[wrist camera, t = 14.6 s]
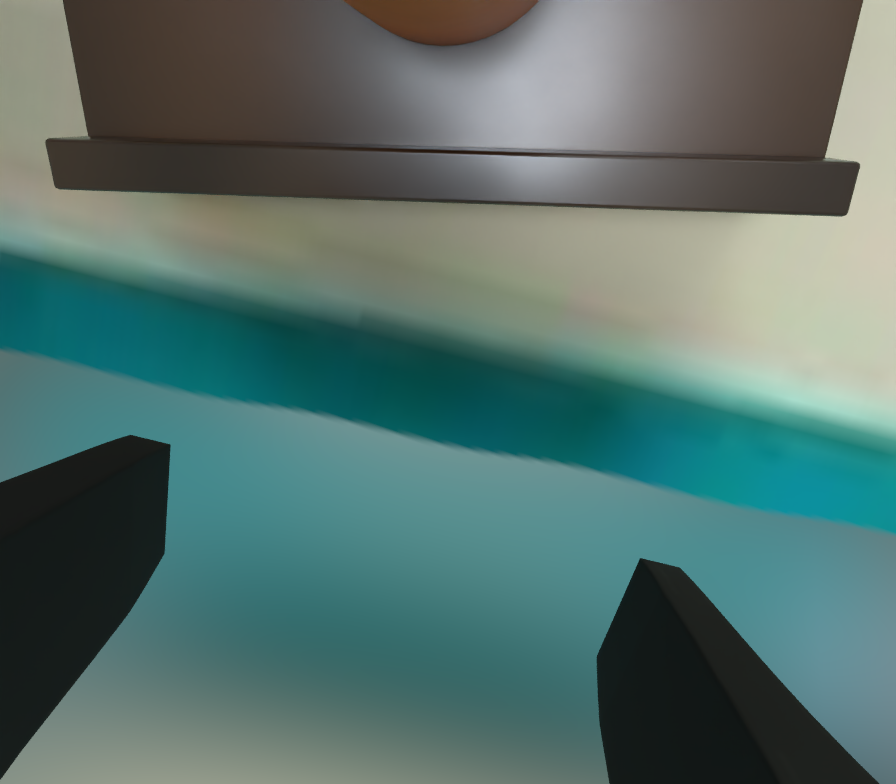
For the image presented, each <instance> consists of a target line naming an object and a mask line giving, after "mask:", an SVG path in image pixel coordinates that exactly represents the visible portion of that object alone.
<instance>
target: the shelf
mask: <svg viewBox="0 0 896 784" xmlns="http://www.w3.org/2000/svg"><path fill="white" fill-rule="evenodd" d="M862 3H863V0H539V1H538V2H537V3H536V4H535V5H534V6H533V7H532V8H531V9H530V10H529V11H528V12H527V13H526V14H525V15H523V16H522V17H521V18H520V19H518V20H517V21H515V22H514V23H513V24H511V25H510V26H508V27H507V28H505V29H503V30H501V31H499V32H497V33H496V34H494V35H492V36H489V37H486V38H484V39H481V40H478V41H475V42H470V43H465V44H461V45H447V46H439V45H428V44H423V43H418V42H414V41H410V40H407V39H405V38H402V37H400V36H398V35H395V34H393V33H391V32H389V31H388V30H386V29H384V28H383V27H381V26H379V25H378V24H376V23H375V22H373V21H372V20H370V19H369V18H367V17H366V16H365V15H363V14H362V13H360V12H359V11H357V10H356V9H355V8H353V7H352V6H350V5H349V4H347V3H346V2H345V1H343V0H63V4H64V9H65V15H66V20H67V25H68V31H69V36H70V41H71V47H72V52H73V57H74V63H75V68H76V73H77V79H78V84H79V89H80V95H81V100H82V105H83V111H84V116H85V121H86V127H87V132H88V136H81V137H62V138H49V139H47V140H46V142H45V143H46V148H47V152H48V157H49V162H50V166H51V171H52V176H53V181H54V185H55V187H56V188H58V189H63V190H92V191H121V192H150V193H179V194H207V195H236V196H265V197H294V198H323V199H351V200H380V201H409V202H438V203H467V204H495V205H524V206H553V207H582V208H610V209H639V210H668V211H697V212H726V213H754V214H783V215H812V216H841V217H842V216H845V215H847V213H848V210H849V206H850V202H851V199H852V195H853V191H854V187H855V184H856V180H857V176H858V172H859V169H860V164H859V163H858V162H854V161H847V160H840V159H832V158H825V155H826V151H827V146H828V142H829V138H830V134H831V130H832V126H833V122H834V118H835V114H836V110H837V105H838V101H839V97H840V93H841V89H842V85H843V81H844V77H845V73H846V68H847V64H848V60H849V56H850V52H851V48H852V44H853V40H854V36H855V32H856V27H857V23H858V19H859V15H860V11H861V7H862Z"/></svg>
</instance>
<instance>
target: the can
mask: <svg viewBox="0 0 896 784" xmlns="http://www.w3.org/2000/svg"><path fill="white" fill-rule="evenodd" d="M343 1H345V2H346V3H347V4H349V5H350V6H352V7H353V8H355V9H356V10H357V11H359V12H360V13H362V14H363V15H365V16H366V17H367V18H369V19H370V20H372V21H373V22H375V23H376V24H378V25H379V26H381V27H383V28H384V29H386V30H388V31H389V32H391V33H393V34H395V35H398V36H400V37H402V38H405V39H407V40H410V41H414V42H418V43H423V44H428V45H439V46H447V45H461V44H465V43H470V42H475V41H478V40H481V39H484V38H486V37H489V36H492V35H494V34H496V33H497V32H499V31H501V30H503V29H505V28H507V27H508V26H510V25H511V24H513V23H514V22H515V21H517V20H518V19H520V18H521V17H522V16H523V15H525V14H526V13H527V12H528V11H529V10H530V9H531V8H532V7H533V6H534V5H535V4H536V3H537V2H538V1H539V0H343Z"/></svg>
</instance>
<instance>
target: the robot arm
mask: <svg viewBox="0 0 896 784" xmlns="http://www.w3.org/2000/svg"><path fill="white" fill-rule="evenodd" d="M169 462H170V444H166V443H162V442H158V441H154V440H149V439H145V438H141V437H137V436H133V435H129V436H125V437H122V438H119V439H116V440H113V441H110V442H107V443H104V444H101V445H99V446H96V447H93V448H90V449H88V450H85V451H82V452H80V453H77V454H75V455H72V456H69V457H67V458H64V459H62V460H59V461H57V462H54V463H51V464H48V465H46V466H43V467H41V468H38V469H35V470H33V471H30V472H27V473H25V474H22V475H19V476H17V477H14V478H11V479H9V480H6V481H3V482H1V483H0V779H1V778H2V777H3V775H4V774H5V773H6V771H7V770H8V768H9V767H10V765H11V764H12V763H13V762H14V760H15V758H16V757H17V756H18V755H19V753H20V752H21V751H22V749H23V748H24V747H25V746H26V744H27V743H28V742H29V740H30V739H31V738H32V736H33V735H34V734H35V733H36V732H37V730H38V729H39V728H40V726H41V725H42V724H43V723H44V721H45V720H46V719H47V718H48V716H49V715H50V714H51V712H52V711H53V710H54V709H55V707H56V706H57V705H58V704H59V702H60V701H61V700H62V698H63V697H64V696H65V695H66V693H67V692H68V691H69V690H70V688H71V687H72V686H73V684H74V683H75V682H76V681H77V679H78V678H79V677H80V675H81V674H82V673H83V672H84V670H85V669H86V668H87V667H88V665H89V664H90V663H91V662H92V660H93V659H94V658H95V656H96V655H97V654H98V652H99V651H100V650H101V649H102V647H103V646H104V645H105V644H106V642H107V641H108V640H109V638H110V637H111V636H112V634H113V633H114V632H115V631H116V629H117V628H118V627H119V625H120V624H121V623H122V621H123V620H124V619H125V617H126V616H127V615H128V613H129V612H130V611H131V609H132V607H133V606H134V604H135V602H136V601H137V599H138V598H139V596H140V594H141V593H142V591H143V589H144V588H145V586H146V585H147V583H148V581H149V579H150V577H151V576H152V574H153V572H154V571H155V569H156V567H157V565H158V564H159V562H160V560H161V559H162V557H163V555H164V551H165V534H166V516H167V498H168V480H169ZM597 680H598V681H597V683H598V702H599V703H598V704H599V721H600V728H601V735H602V741H603V747H604V753H605V759H606V765H607V771H608V777H609V783H610V784H879V783H878V782H877V781H876V780H875V779H874V778H873V777H872V776H871V775H870V774H869V773H868V772H867V771H866V770H865V769H864V768H863V767H862V766H861V765H860V764H859V763H858V762H857V761H856V760H855V759H854V758H853V757H852V756H851V755H850V754H849V753H848V752H847V751H846V750H845V749H844V748H843V747H842V746H841V745H840V744H839V743H838V742H837V741H836V740H835V739H834V738H833V737H832V736H831V735H830V733H829V732H828V731H827V730H825V728H823V726H822V725H821V724H820V723H819V722H818V721H817V720H816V719H815V718H814V717H813V716H812V715H811V714H810V713H809V712H808V710H807V709H805V707H804V706H803V705H802V704H801V703H800V702H799V701H798V700H797V699H796V697H795V696H794V695H793V694H792V693H791V692H790V691H789V690H788V689H787V688H786V687H785V686H784V684H783V683H782V682H781V681H780V680H779V679H778V678H777V677H776V675H775V674H773V672H772V671H771V670H770V669H769V668H768V666H767V665H766V664H765V663H764V662H763V661H762V660H761V659H760V657H759V656H758V655H757V654H756V653H755V652H754V651H753V649H752V648H751V647H750V646H749V645H748V644H747V643H746V641H745V640H744V639H743V638H742V637H741V636H740V634H739V633H738V632H737V631H736V630H735V629H734V628H733V626H732V625H731V624H730V623H729V622H728V621H727V619H726V618H725V617H724V616H723V615H722V614H721V612H719V610H718V609H717V608H716V607H715V606H714V604H713V603H712V602H711V601H710V600H709V599H708V598H707V597H706V595H705V594H704V593H703V592H702V591H701V590H700V589H699V587H698V586H697V585H696V584H695V583H694V582H693V581H692V580H691V579H690V578H689V577H688V576H687V575H686V574H685V573H684V571H682V569H681V568H679V567H675V566H671V565H667V564H663V563H658V562H654V561H650V560H646V559H642V558H640V560H639V562H638V565H637V567H636V569H635V571H634V573H633V576H632V578H631V580H630V582H629V585H628V587H627V589H626V591H625V594H624V596H623V598H622V601H621V603H620V606H619V607H618V610H617V612H616V614H615V616H614V619H613V621H612V623H611V625H610V628H609V630H608V632H607V634H606V637H605V639H604V641H603V644H602V646H601V648H600V650H599V653H598V655H597Z"/></svg>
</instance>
